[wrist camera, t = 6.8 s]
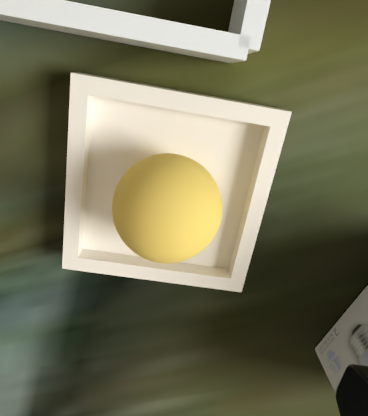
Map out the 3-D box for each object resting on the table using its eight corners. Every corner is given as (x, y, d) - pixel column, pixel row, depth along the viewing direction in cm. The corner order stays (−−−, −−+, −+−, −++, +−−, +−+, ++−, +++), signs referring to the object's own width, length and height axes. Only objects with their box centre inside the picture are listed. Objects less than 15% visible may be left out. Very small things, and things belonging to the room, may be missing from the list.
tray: (281, 108, 17) (291, 112, 15) (236, 276, 21) (241, 292, 19) (80, 72, 16) (70, 72, 15) (70, 253, 20) (62, 268, 18)
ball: (224, 151, 17) (244, 181, 13) (205, 238, 19) (216, 292, 14) (125, 135, 17) (108, 160, 12) (115, 226, 19) (97, 278, 14)
